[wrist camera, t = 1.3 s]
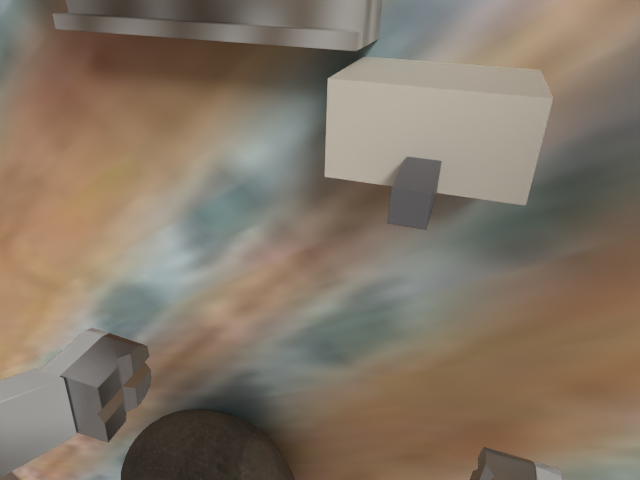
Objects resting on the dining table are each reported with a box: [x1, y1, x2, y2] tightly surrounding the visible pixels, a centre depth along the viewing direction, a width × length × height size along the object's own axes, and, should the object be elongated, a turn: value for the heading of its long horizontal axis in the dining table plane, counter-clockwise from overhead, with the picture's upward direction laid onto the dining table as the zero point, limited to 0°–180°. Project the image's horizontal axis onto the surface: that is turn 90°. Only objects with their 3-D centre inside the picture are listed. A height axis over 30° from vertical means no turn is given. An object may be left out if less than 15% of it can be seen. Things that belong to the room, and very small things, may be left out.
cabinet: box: [325, 57, 553, 230], centre depth 29 cm, size 12×6×14 cm, turn 87°
